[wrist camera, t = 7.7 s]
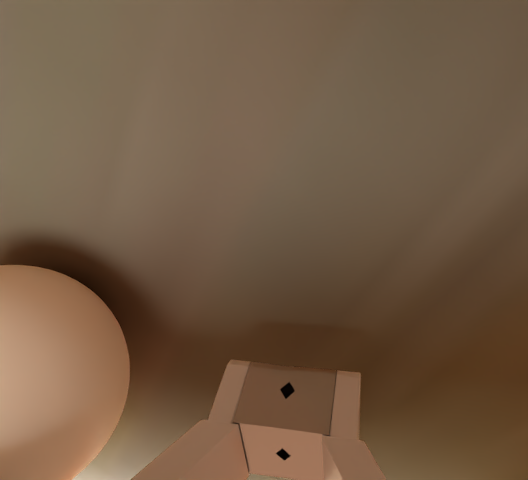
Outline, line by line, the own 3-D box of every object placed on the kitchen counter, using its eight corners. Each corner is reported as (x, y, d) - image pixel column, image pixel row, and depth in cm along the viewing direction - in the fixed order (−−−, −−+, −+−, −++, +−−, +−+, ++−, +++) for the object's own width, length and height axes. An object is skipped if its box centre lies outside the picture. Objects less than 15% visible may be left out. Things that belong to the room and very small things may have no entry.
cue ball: (-162, 256, 11) (86, 214, 14) (-92, 432, 13) (107, 366, 16) (-221, 412, 7) (154, 306, 9) (-104, 629, 9) (169, 494, 12)
